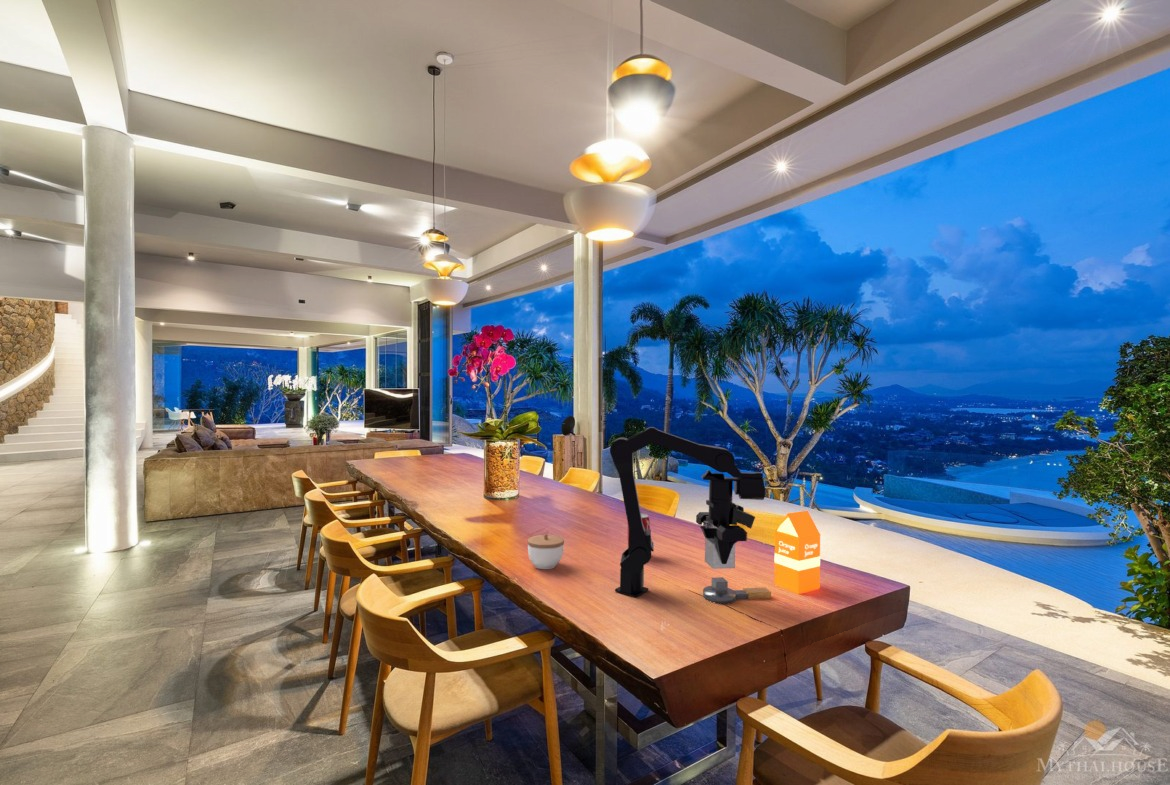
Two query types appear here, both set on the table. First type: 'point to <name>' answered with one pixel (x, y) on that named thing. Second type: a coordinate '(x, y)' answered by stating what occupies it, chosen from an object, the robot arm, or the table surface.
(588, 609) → the table surface
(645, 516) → the soda can
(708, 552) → the white metal cube
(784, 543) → the orange juice
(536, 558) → the lidded jar
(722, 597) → the ratchet
